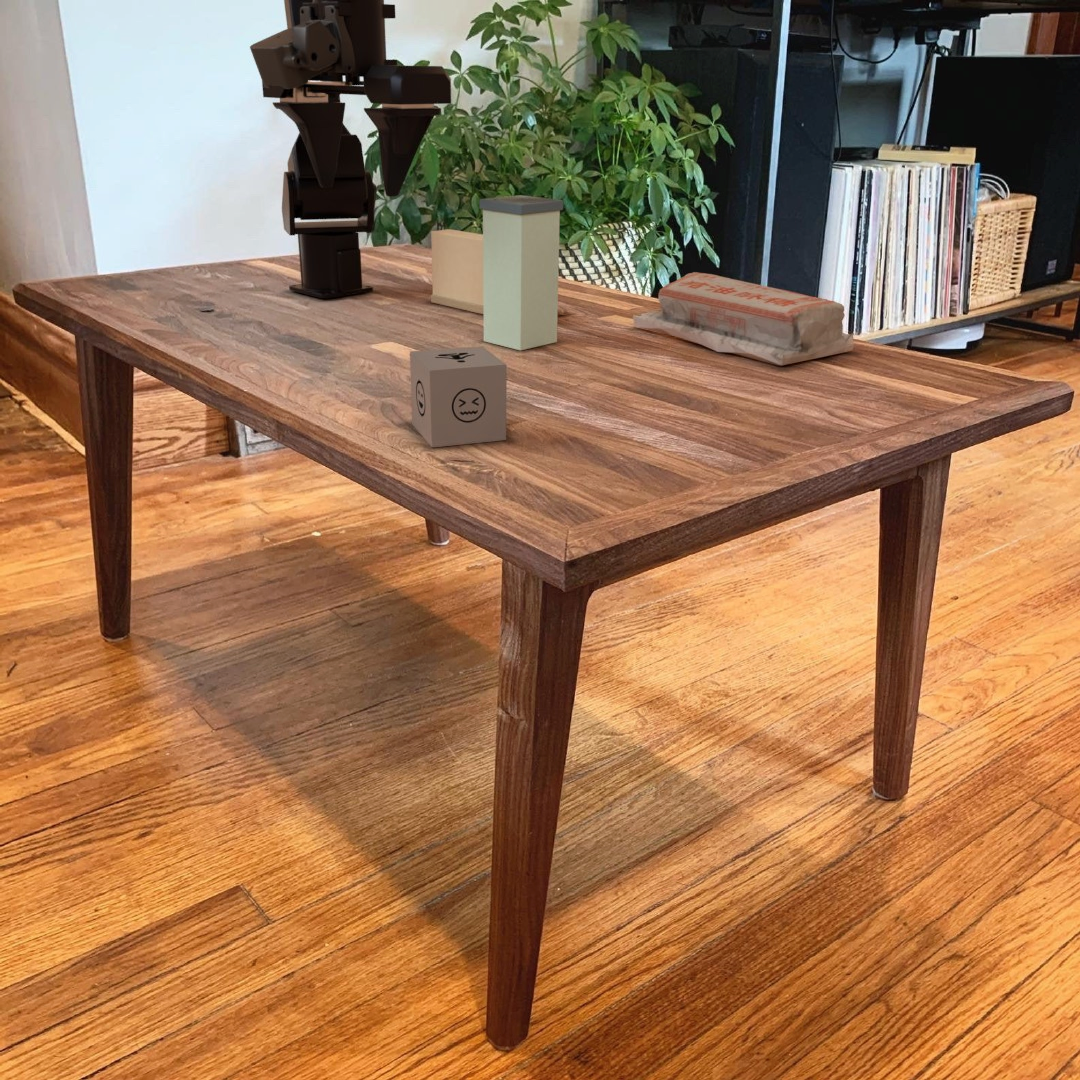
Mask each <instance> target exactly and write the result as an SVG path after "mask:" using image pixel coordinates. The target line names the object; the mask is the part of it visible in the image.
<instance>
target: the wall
mask: <svg viewBox="0 0 1080 1080" xmlns="http://www.w3.org/2000/svg"><path fill="white" fill-rule="evenodd" d="M430 239H431V240H430V241H431V242H430V243H431V246H430V247H431V275H432V276H431V280H432V282H431V284H432V294H430V302H431V303H433V304H437V305H441V306H445V307H449V308H454V309H459V310H462V311H467V312H472V313H475V314H479V315H484V311H483V233H477V232H476V233H475V232H470V231H463V230H458V229H451V228H448V229H439V230H432V231H430Z"/></svg>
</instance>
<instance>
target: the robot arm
mask: <svg viewBox="0 0 1080 1080" xmlns="http://www.w3.org/2000/svg"><path fill="white" fill-rule="evenodd" d="M283 3H284V11H285V21H286V29H284V30H281V31H279V32H276V33H275V34H272V35H270V36H268V37H266V38H263V39H261V40H259V41H257V42H255V43H253V44H251V45H250V46H249V50H250V52H251V54H252V58H253V61H254V63H255V65H256V68H257V70H258V73H259V76H260V79H261V86H262V97H263V98H267V99H268V98H269V99H279V102H278V101H277V102H272V105H273V107H274V108H275V109H277V110H280V111H281V112H283V114H284V115H286V116H287V118H289V119H290V120H291V121H292V122H293V123H294V124H295V126H296V127H297V131H298V132H299V133H298V135H297V136H296V138H295V141H294V144H293V146H292V148H291V151H290V153H289V157H288V160H287V171H284V172H283V181H282V182H283V183H282V197H281V214H282V215H281V216H282V225H283V230H284V231H285V232H286V233H287V235H289V236H296V235H297V239H298V240H297V241H298V242H297V243H298V256H299V269H300V283H297V284H291V285H289V286H288V289H289V291H291V292H296V293H300V294H303V295H307V296H312V297H315V298H320V299H332V298H338V297H339V298H340V297H344V296H350V295H356V294H364V293H369V292H373V291H374V286H372V285H369V284H365V283H363V273H362V272H363V271H362V270H363V269H362V255H361V253H362V251H361V249H360V236H359V233H365V234H373V231H375V229H376V228H375V209H376V202H377V201H376V200H377V191H378V188H377V185H376V184H375V182H374V181H373V179H372V175H371V172H370V170H366V166H365V160H364V151H363V144H362V142H361V140H360V138H359V137H358V135H357V134H351V132H350V131H349V129H348V128H347V127H346V126H345V124H344V117H345V110H346V102H343V101H342V102H341V95H353V96H355V95H356V96H366V97H367V100H368V101H369V102H370V104H378V105H379V104H380V105H381V107H363V111H364V112H365V114H366V115H367V116H368V118H369V119H370V121H371V122H372V123H373V125H374V126H375V127H376V129H377V136H378V146H379V154H380V165H381V166H380V167H381V174H382V175H381V176H382V181H383V187H384V193H385V196H386V197H389V198H391V197H398V196H399V195H400V193H401V190H402V188H403V185H404V183H405V181H406V178H407V176H408V173H409V171H410V168H411V166H412V164H413V162H414V159H415V156H416V155H417V153H418V149H419V147H420V145H421V143H422V141H423V139H424V137H425V136H426V133H427V131H428V129H429V127H430V126H431V124H432V122H433V120H434V118H435V116H441V113H442V108H441V107H435V105H449V104H450V105H451V104H452V78H451V76H450V74H448V73H447V71H446V70H445V68H444V67H443V66H442V65H401V64H400V65H399V64H398V59H387V41H386V19H387V20H388V19H396V4H391V3H385V0H283ZM361 78H362V79H363V80H361ZM344 79H345V80H344ZM296 219H299V220H301V221H300V222H299V221H296ZM345 219H347V220H345ZM349 219H350V220H349ZM351 219H357V220H351ZM311 220H312V221H311ZM313 220H318V221H313ZM319 220H328V221H319Z"/></svg>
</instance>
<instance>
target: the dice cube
mask: <svg viewBox="0 0 1080 1080" xmlns="http://www.w3.org/2000/svg"><path fill="white" fill-rule="evenodd" d="M409 365H410V367H409V370H410V371H409V372H410V396H411V397H410V398H411V399H410V400H411V424H412V426H413V427H414V428H415V430H416V431H417V433H419V434H420V436H421V437H422V438H423V439H424V440H425V442H426V443H427V444H428V445H429V446H430V447H431V448H442V447H450V446H460V445H470V444H479V443H481V444H482V443H490V442H500V441H507V388H508V387H507V385H508V384H507V383H508V382H507V376H508V375H507V369H508V368H507V366H508V364H506V363H505V362H504V361H502V360H501V359H500V358H499V357H497V356H496V355H495V354H494V353H492V352H491V351H489V350H488V349H487V348H485V347H484V346H468V347H467V346H466V347H455V348H453V347H452V348H439V349H425V350H424V349H423V350H412V351H409Z"/></svg>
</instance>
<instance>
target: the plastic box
mask: <svg viewBox="0 0 1080 1080" xmlns="http://www.w3.org/2000/svg"><path fill="white" fill-rule="evenodd" d="M479 209H480V210H482V235H483V311H484V314H483V342H485V343H489V344H492V345H497V346H501V347H505V348H508V349H513V350H516V351H524V350H525V351H526V350H529V349H534V348H537V347H541V346H545V345H550V344H554V343H555V344H556V343H558V317H559V316H558V315H559V314H558V313H559V272H560V271H559V270H560V269H559V268H560V226H561V225H560V220H561V219H560V217H561V211H563V210H564V200H562V199H556V198H549V197H540V196H532V195H524V194H519V195H508V196H499V197H489V198H480V199H479Z"/></svg>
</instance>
